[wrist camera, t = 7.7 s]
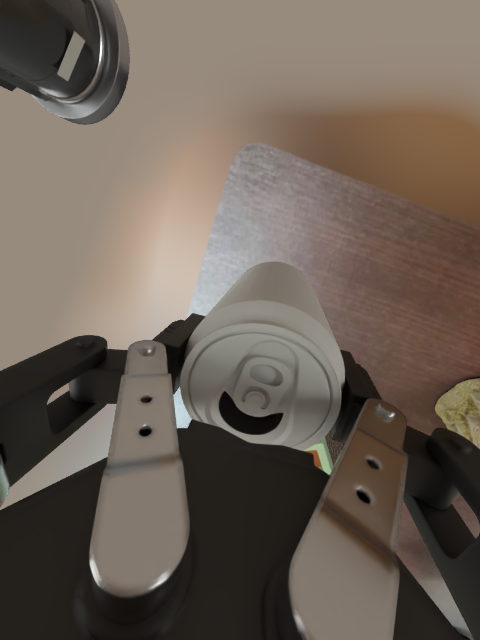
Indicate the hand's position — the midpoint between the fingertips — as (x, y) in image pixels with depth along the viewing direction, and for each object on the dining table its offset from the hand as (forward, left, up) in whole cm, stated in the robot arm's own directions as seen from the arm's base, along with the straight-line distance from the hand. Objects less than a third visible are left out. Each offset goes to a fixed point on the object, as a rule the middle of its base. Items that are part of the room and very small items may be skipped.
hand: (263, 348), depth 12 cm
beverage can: (0, 0, -8) cm, 8 cm away
